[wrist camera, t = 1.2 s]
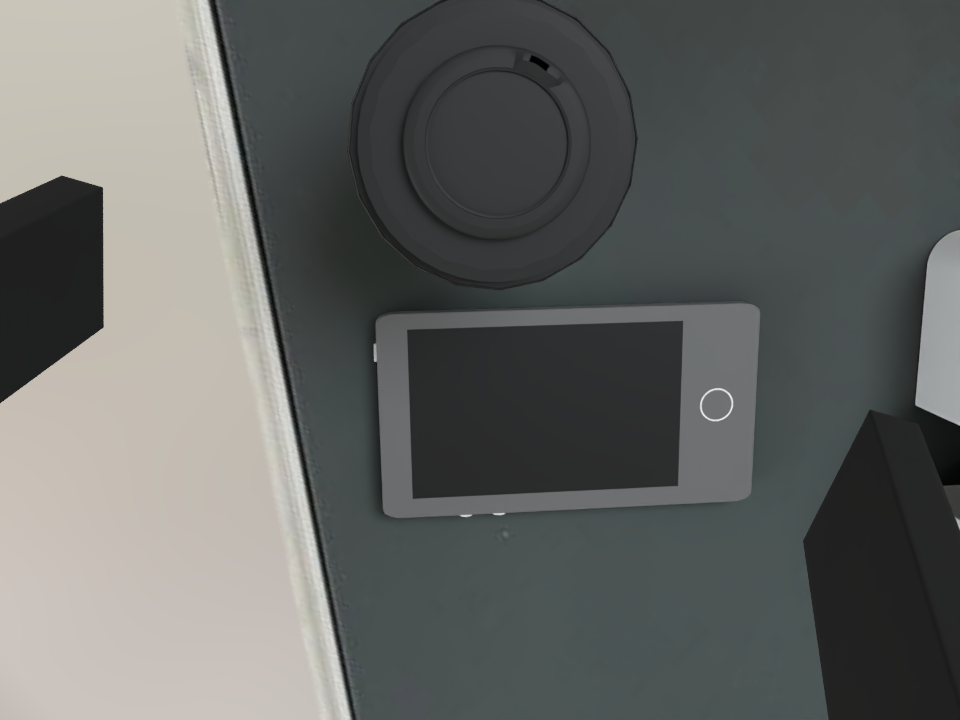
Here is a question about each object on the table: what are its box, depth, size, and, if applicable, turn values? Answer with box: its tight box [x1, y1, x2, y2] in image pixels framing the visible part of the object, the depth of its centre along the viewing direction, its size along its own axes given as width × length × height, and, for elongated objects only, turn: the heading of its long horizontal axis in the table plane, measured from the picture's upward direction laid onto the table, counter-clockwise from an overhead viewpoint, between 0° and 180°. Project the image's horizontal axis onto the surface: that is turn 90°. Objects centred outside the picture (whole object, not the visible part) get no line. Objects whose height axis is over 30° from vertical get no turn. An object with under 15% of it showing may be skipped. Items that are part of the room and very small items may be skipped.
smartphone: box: [373, 301, 760, 518], centre depth 36 cm, size 15×8×1 cm, turn 91°
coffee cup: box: [347, 0, 638, 290], centre depth 29 cm, size 8×8×10 cm
